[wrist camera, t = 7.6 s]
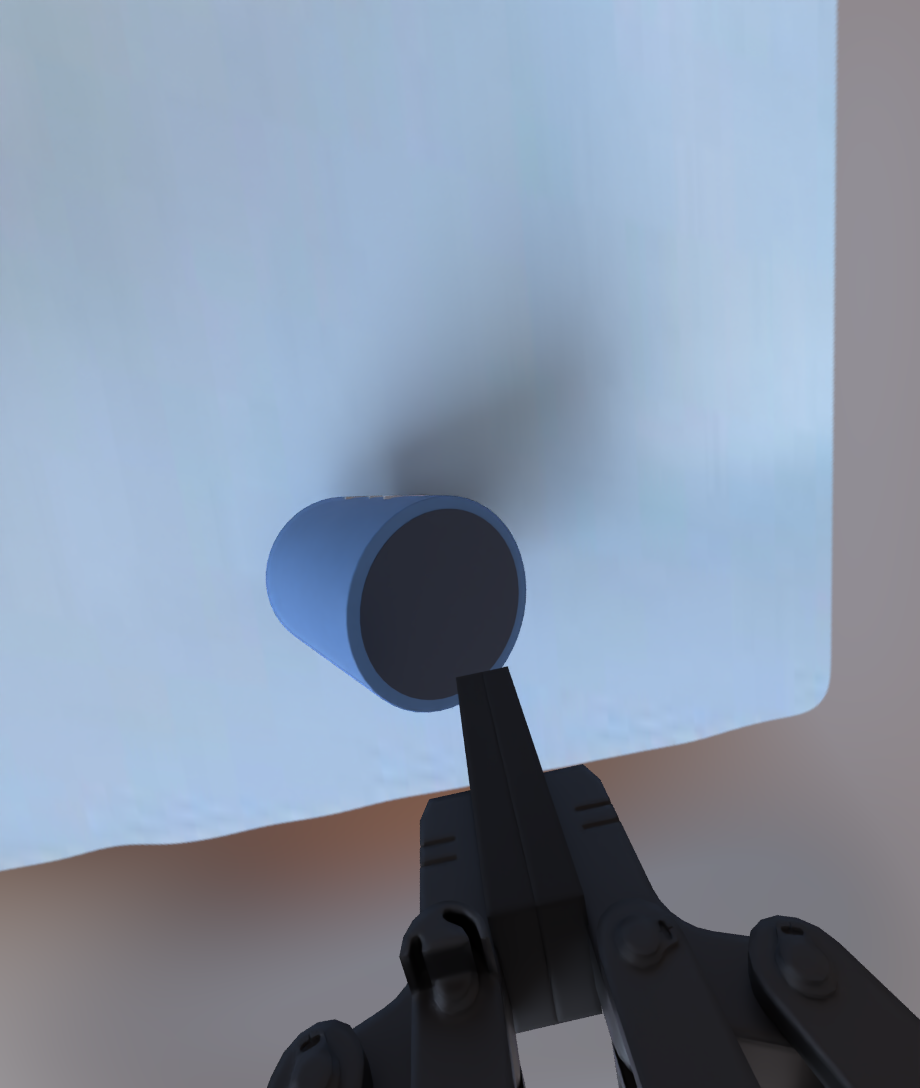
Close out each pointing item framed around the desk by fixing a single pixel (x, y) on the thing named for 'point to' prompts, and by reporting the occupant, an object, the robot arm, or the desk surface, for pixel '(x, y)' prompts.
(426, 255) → the desk surface
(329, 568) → the measuring cup
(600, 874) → the robot arm
